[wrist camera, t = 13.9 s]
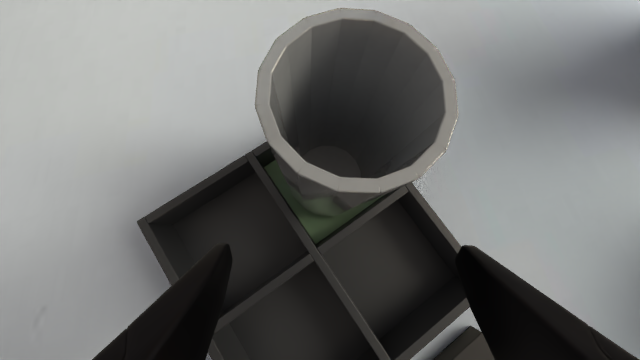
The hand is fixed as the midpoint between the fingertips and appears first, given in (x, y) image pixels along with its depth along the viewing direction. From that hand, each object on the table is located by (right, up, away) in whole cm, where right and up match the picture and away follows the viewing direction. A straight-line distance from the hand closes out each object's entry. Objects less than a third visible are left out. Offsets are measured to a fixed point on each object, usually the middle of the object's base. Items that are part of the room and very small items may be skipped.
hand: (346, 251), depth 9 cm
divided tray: (-2, -3, +10) cm, 11 cm away
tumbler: (0, +3, +11) cm, 11 cm away
